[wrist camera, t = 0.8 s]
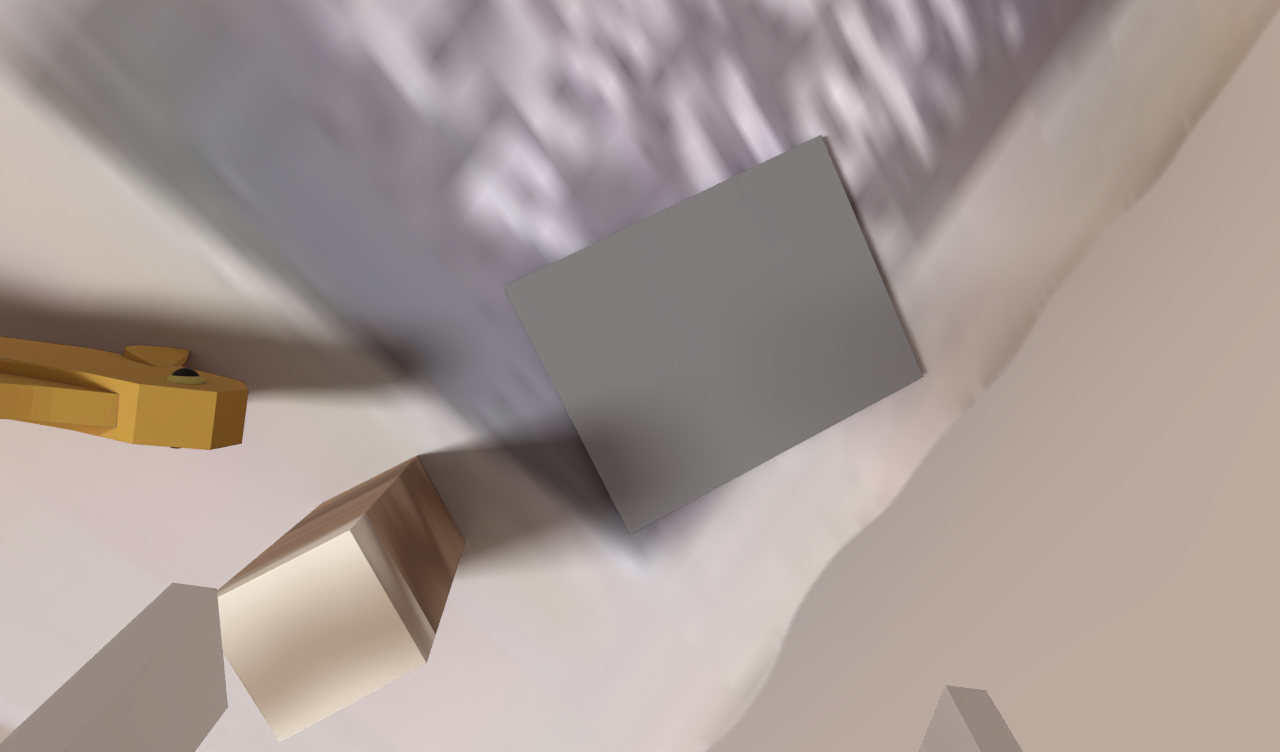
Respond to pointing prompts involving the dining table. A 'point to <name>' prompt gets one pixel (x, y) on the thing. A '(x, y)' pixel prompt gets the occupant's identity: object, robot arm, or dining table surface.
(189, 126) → the dining table surface
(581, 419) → the charcoal rubber mat
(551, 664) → the dining table surface
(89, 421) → the decorative fish
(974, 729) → the robot arm
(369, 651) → the walnut block
